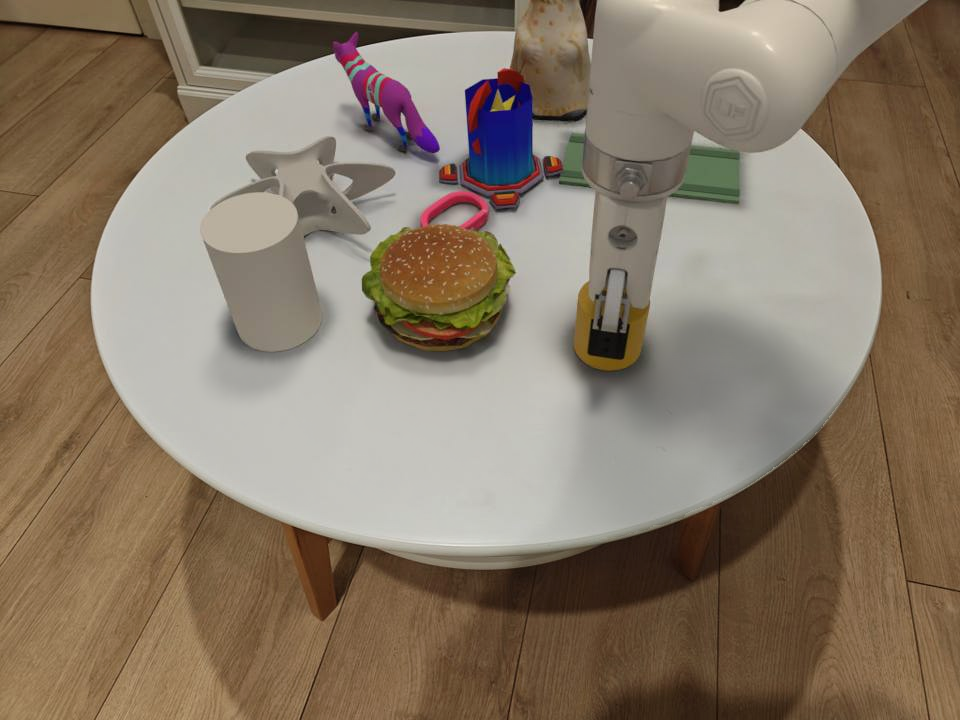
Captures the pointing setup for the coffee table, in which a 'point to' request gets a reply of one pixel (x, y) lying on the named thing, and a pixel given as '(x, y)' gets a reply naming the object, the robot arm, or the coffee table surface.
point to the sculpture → (316, 185)
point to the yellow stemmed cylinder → (582, 331)
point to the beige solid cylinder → (263, 270)
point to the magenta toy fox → (383, 97)
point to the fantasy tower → (500, 141)
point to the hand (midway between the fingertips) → (610, 325)
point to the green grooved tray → (704, 176)
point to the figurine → (554, 58)
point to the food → (438, 285)
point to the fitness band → (455, 198)
